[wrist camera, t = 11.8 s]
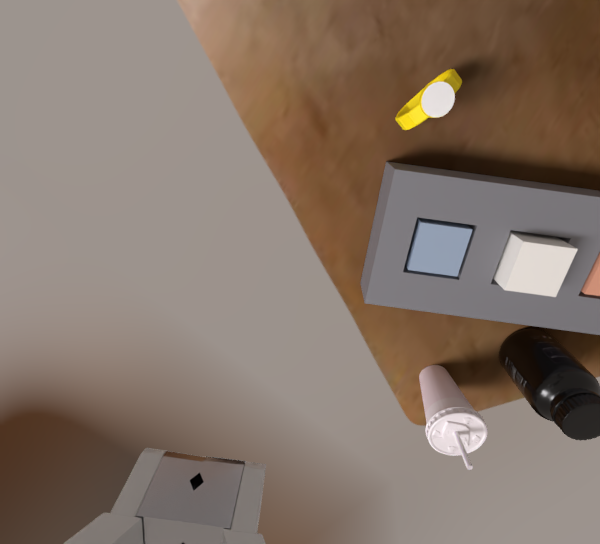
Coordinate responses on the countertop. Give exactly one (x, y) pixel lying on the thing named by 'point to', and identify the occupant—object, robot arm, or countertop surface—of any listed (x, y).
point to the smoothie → (450, 415)
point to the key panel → (481, 246)
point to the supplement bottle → (553, 382)
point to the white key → (534, 263)
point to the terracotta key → (593, 279)
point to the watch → (430, 100)
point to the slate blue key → (438, 246)
